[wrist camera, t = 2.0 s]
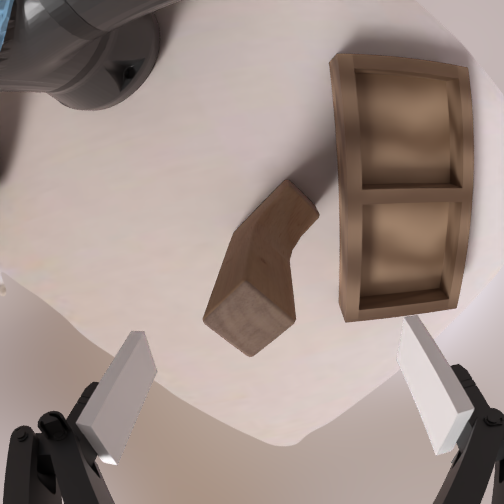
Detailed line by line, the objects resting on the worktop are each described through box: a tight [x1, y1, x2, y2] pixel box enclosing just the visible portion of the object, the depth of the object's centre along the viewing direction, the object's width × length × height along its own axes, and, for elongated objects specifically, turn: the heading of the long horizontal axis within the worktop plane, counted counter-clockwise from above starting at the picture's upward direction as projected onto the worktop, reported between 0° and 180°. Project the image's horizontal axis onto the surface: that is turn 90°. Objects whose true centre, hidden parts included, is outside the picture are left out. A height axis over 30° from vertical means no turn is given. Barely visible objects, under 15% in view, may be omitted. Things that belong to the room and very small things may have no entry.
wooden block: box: [203, 180, 319, 357], centre depth 28 cm, size 9×4×18 cm, turn 137°
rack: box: [329, 54, 474, 322], centre depth 32 cm, size 28×15×4 cm, turn 5°
